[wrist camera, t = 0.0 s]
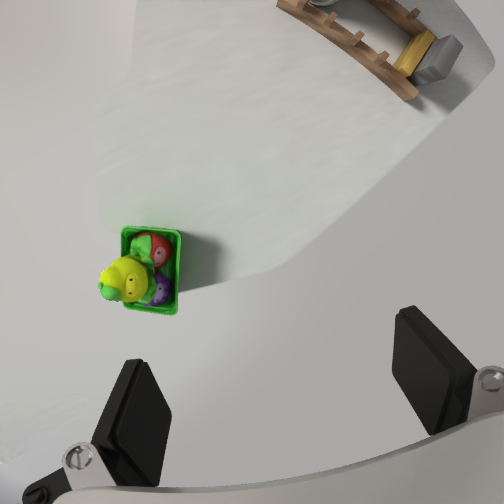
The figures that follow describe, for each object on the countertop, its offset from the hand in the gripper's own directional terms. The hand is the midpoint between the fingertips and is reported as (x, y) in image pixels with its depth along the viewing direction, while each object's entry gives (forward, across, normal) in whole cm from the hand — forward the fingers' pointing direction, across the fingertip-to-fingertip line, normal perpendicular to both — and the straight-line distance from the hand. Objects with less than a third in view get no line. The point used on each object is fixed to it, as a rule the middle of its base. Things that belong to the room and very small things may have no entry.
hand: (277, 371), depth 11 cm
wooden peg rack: (+31, -21, -24) cm, 45 cm away
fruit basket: (+32, +14, +4) cm, 35 cm away
